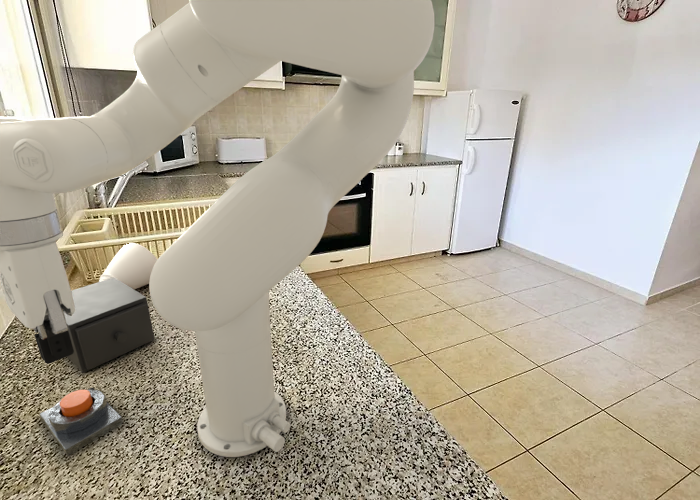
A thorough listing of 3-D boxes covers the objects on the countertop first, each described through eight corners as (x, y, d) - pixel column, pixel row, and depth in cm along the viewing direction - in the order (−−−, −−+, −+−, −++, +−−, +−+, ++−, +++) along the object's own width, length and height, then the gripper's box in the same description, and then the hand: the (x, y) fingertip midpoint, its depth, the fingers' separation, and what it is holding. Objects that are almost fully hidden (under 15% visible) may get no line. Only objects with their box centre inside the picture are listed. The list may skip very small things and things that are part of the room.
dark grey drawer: (157, 341, 72) (150, 306, 69) (91, 373, 63) (80, 333, 60) (124, 318, 79) (116, 285, 76) (61, 343, 71) (49, 307, 68)
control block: (123, 423, 55) (119, 407, 53) (67, 456, 49) (61, 439, 48) (94, 392, 60) (90, 377, 59) (41, 419, 55) (35, 403, 54)
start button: (97, 406, 54) (94, 396, 53) (68, 421, 51) (65, 411, 51) (87, 395, 56) (84, 385, 55) (58, 409, 53) (55, 399, 53)
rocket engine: (65, 278, 76) (132, 234, 91) (51, 299, 83) (116, 255, 97) (110, 316, 79) (168, 268, 93) (94, 334, 86) (150, 286, 100)
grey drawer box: (154, 339, 74) (146, 296, 70) (82, 373, 64) (68, 325, 61) (123, 317, 81) (113, 277, 78) (54, 344, 72) (40, 300, 68)
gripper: (-38, 221, 45) (6, 347, 52) (-3, 252, 37) (44, 398, 44) (38, 210, 51) (69, 325, 57) (83, 234, 43) (113, 365, 49)
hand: (58, 356), depth 51 cm, fingers closed
